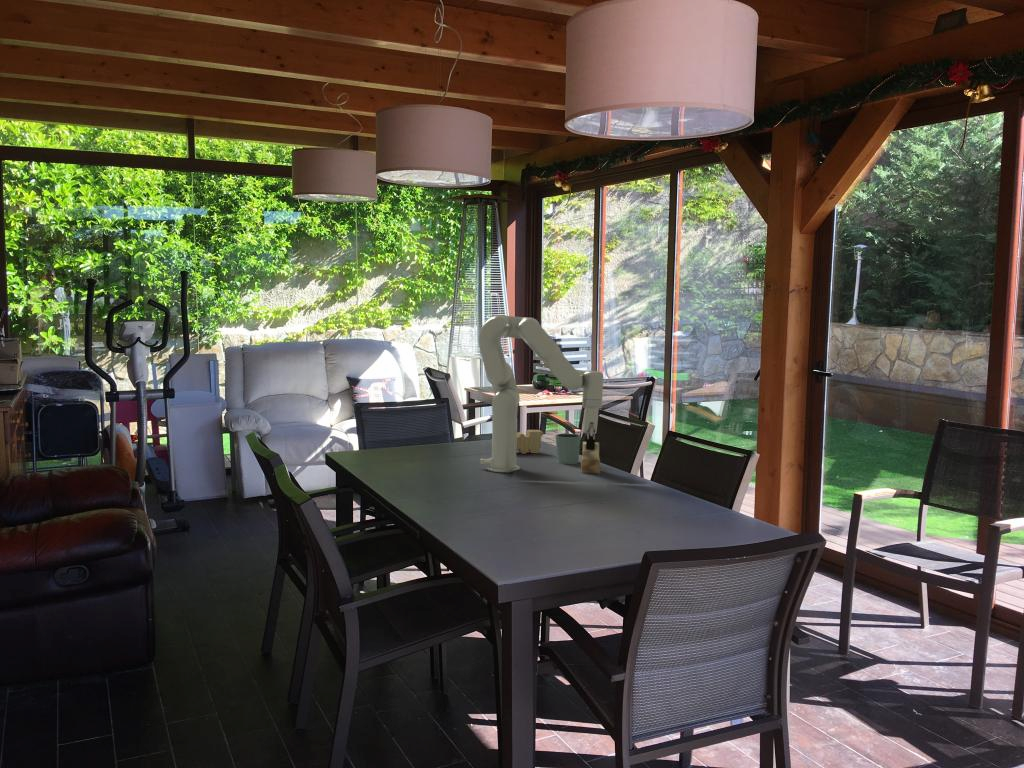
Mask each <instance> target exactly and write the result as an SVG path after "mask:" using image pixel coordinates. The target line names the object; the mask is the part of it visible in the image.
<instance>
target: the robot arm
mask: <svg viewBox="0 0 1024 768" xmlns="http://www.w3.org/2000/svg"><path fill="white" fill-rule="evenodd" d="M502 338H510V339H511V338H512V339H522V340H523V342H524V343H525V344H526V345H527V346H528V347H529V348H530V349H531V350H532V351H533V352H534V354H536V356H537V357H538V359H540V360H541V362H542V363H543V364H544V365H545V367H547V368H548V369H549V370H550V372H551V373H552V374H553V376H554V377H555V378H556V379H557V380H558V381H559V382H560V384H562V385H563V387H564V388H566V389H567V390H569V391H577V390H579V389H582V401H581V403H582V404H581V407H582V408H584V410H583V423H582V425H583V426H582V432H583V433H584V434H585V437H584V438H585V439H584V442H586V450H594V449H595V442H596V438H595V437H596V435H595V434H597V430H598V421H599V409H602V408H603V391H604V390H603V389H604V373H603V372H602V371H596V370H580V369H576V368H575V367H574V366H573V365H572V363H570V361H569V360H568V359H567V358H566V357H565V355H564V354H563V352H562V350H561V347H559V345H558V344H557V342H555V341H554V339H553V338H552V337H551V335H549V334H548V333H547V331H545V329H544V328H543V327H542V326H541V324H540V323H539V321H538V319H536V318H534V317H524V316H523V317H521V316H512V315H503V314H496V315H493V316H492V317H490V318H488V319H487V321H485V322H484V324H483V325H482V326H481V328H480V330H479V334H478V346H479V351H480V355H481V358H482V359H481V360H482V363H483V367H484V371H485V374H486V379H487V381H488V383H489V384H491V386H492V391H493V394H494V395H493V398H492V400H491V401H492V403H491V411H492V413H491V415H492V418H491V419H492V423H491V424H492V428H491V431H492V432H491V433H492V435H491V457H489V458H480V460H479V464H482V465H488V466H487V470H488V471H490V472H495V473H514V471H519V470H520V469H521V467H520V466H519V465H517V451H516V445H517V433H518V430H517V429H518V405H519V404H520V400H521V399H520V392H519V389H518V385H517V382H516V377H515V374H514V372H513V371H514V370H513V368H512V366H511V365H510V364H509V363H508V362H507V360H506V358H505V357H506V356H505V355H504V349H503V346H502V342H501V340H502Z"/></svg>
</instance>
